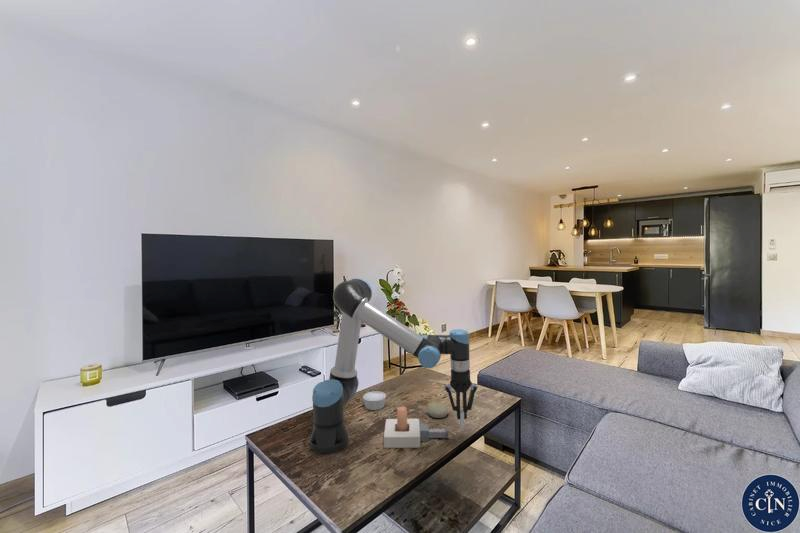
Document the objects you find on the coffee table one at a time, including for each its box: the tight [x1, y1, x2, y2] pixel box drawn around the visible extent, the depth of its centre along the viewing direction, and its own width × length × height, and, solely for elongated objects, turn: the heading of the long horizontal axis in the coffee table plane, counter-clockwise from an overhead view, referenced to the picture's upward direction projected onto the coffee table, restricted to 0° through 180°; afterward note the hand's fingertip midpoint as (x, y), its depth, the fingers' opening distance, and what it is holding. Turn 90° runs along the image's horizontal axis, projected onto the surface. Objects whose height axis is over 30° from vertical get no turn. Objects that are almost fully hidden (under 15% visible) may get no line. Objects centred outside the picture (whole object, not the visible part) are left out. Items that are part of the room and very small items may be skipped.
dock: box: [383, 418, 421, 449], centre depth 138 cm, size 14×14×4 cm
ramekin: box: [362, 390, 387, 411], centre depth 166 cm, size 11×11×5 cm
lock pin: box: [429, 426, 449, 439], centre depth 137 cm, size 10×3×3 cm, turn 88°
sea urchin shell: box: [427, 402, 449, 419], centre depth 156 cm, size 9×8×8 cm
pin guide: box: [419, 423, 430, 442], centre depth 138 cm, size 4×5×4 cm
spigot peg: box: [396, 406, 408, 431], centre depth 137 cm, size 4×4×12 cm
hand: (462, 426), depth 137 cm, fingers closed
